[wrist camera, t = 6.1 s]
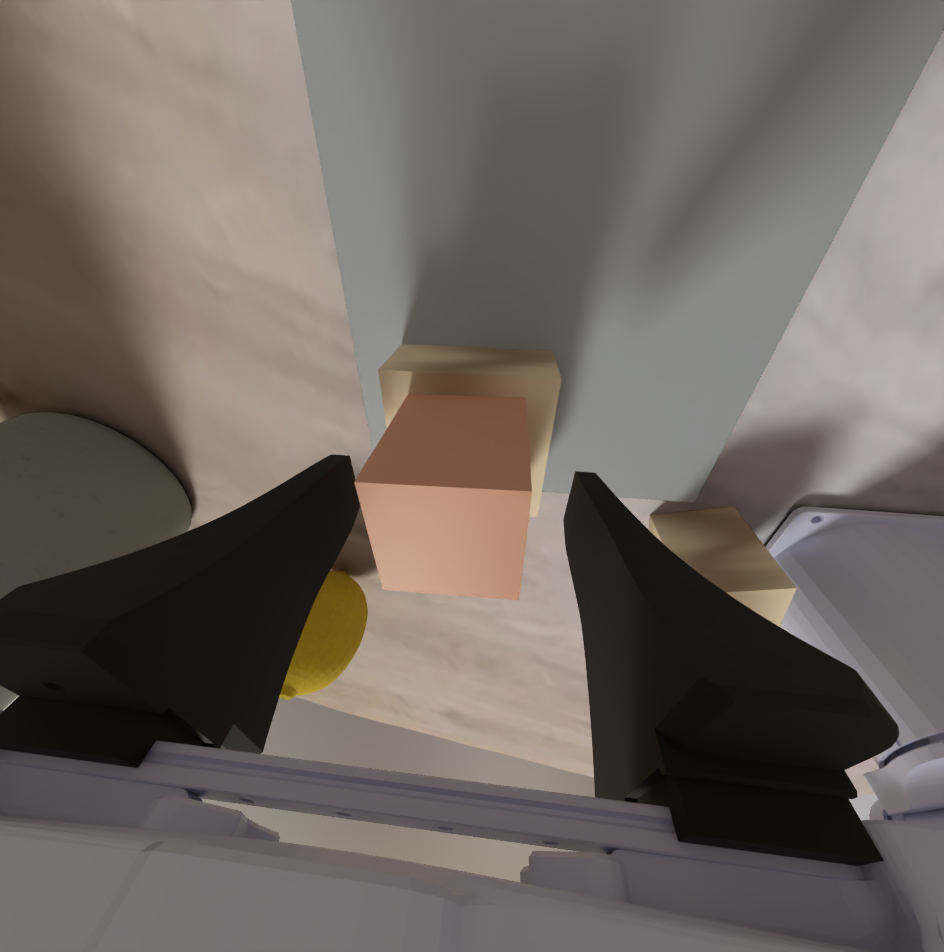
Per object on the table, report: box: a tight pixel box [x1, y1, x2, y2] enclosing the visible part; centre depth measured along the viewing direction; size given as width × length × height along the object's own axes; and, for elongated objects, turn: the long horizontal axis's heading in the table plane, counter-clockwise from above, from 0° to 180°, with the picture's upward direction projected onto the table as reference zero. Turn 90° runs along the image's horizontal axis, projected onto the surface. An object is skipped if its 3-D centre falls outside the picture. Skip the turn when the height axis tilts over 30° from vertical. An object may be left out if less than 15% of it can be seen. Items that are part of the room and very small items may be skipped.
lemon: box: [279, 571, 368, 700], centre depth 21 cm, size 6×6×8 cm
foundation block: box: [378, 344, 561, 517], centre depth 14 cm, size 6×6×3 cm
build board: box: [291, 0, 944, 503], centre depth 13 cm, size 16×16×1 cm
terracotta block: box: [354, 394, 532, 600], centre depth 11 cm, size 4×4×5 cm
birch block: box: [649, 506, 797, 626], centre depth 17 cm, size 4×4×5 cm
